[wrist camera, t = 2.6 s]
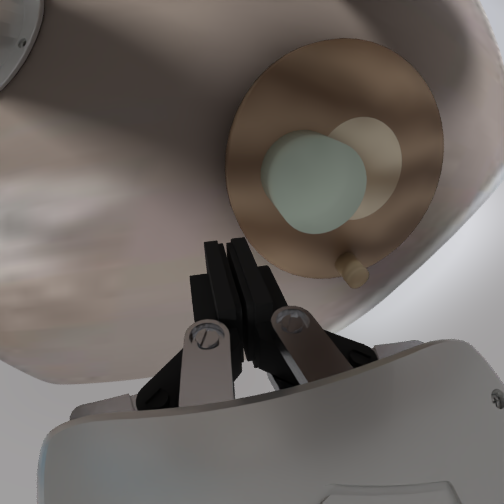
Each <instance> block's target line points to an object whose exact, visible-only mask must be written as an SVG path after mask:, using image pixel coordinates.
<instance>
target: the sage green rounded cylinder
mask: <svg viewBox="0 0 504 504" xmlns="http://www.w3.org/2000/svg"><path fill="white" fill-rule="evenodd" d="M261 183H262V187H263V190H264V192H265V194H266V195H267V197H268V198H269V199H270V201H271V202H272V203H273V204H274V206H275V207H276V208H277V210H278V211H279V212H280V213H281V215H282V216H283V217H284V219H285V220H286V221H287V222H288V223H289V224H290V225H291V226H292V227H293V228H295V229H297V230H298V231H301V232H304V233H308V234H321V233H326V232H329V231H332V230H334V229H336V228H338V227H340V226H341V225H343V224H344V223H345V222H346V221H348V220H349V219H350V218H351V217H352V216H353V214H354V213H355V212H356V210H357V209H358V207H359V206H360V204H361V202H362V200H363V197H364V194H365V190H366V183H367V177H366V170H365V166H364V164H363V161H362V159H361V158H360V156H359V155H358V153H357V152H356V151H355V150H354V149H353V148H351V147H350V146H348V145H346V144H344V143H342V142H340V141H337V140H335V139H333V138H330V137H328V136H326V135H323V134H321V133H318V132H316V131H312V130H297V131H293V132H290V133H287V134H285V135H283V136H282V137H280V138H279V139H278V140H277V141H275V142H274V143H273V144H272V146H271V147H270V148H269V150H268V151H267V153H266V155H265V157H264V159H263V162H262V166H261Z"/></svg>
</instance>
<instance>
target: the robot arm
mask: <svg viewBox="0 0 504 504" xmlns="http://www.w3.org/2000/svg"><path fill="white" fill-rule="evenodd" d="M43 13H44V0H0V91H1V90H2V89H3V88H4V87H5V86H6V85H7V84H8V83H9V82H10V81H11V79H12V78H13V77H14V76H15V75H16V73H17V72H18V70H19V69H20V67H21V66H22V65H23V63H24V62H25V60H26V58H27V56H28V54H29V53H30V51H31V49H32V47H33V45H34V42H35V40H36V38H37V36H38V32H39V29H40V26H41V23H42V18H43ZM226 247H227V256H226V253H225V249H224V246H223V243H221V244H218V242H217V241H209V242H204V249H205V259H206V268H207V274H200V275H193V276H190V285H191V295H192V304H193V312H194V321H195V323H193V324H192V325H191V326H189V328H188V329H187V330H186V332H185V336H184V345H183V349H182V350H181V351H180V352H179V353H178V354H177V355H176V356H175V357H174V358H172V359H171V360H170V361H169V362H168V363H167V364H166V365H165V366H164V367H163V368H162V369H161V370H160V371H159V372H158V373H157V374H156V375H155V376H154V377H153V378H152V379H151V380H150V381H149V382H148V383H147V384H146V385H145V386H144V387H143V388H142V389H141V390H140V391H139V392H138V394H136V395H132V396H130V395H129V394H125V395H121V396H118V397H113V398H110V399H105V400H102V401H97V402H93V403H88V404H83V405H80V406H78V407H76V408H75V409H74V410H73V411H72V413H71V416H70V421H68V422H65V423H63V424H61V425H59V426H57V427H56V428H54V429H53V430H51V431H50V432H49V434H47V436H46V438H45V439H44V441H43V444H42V447H41V450H40V455H39V461H38V469H37V504H504V384H503V382H502V381H501V380H500V378H499V377H498V375H497V374H496V373H495V371H494V370H493V368H492V367H491V366H490V365H489V364H488V362H487V361H486V360H485V358H484V357H483V356H482V355H481V354H480V353H479V352H478V351H477V350H476V349H475V348H474V347H473V346H472V345H470V344H469V343H467V342H465V341H461V340H455V339H448V340H437V341H430V342H427V343H423V342H421V341H416V340H412V341H406V342H398V343H391V344H383V345H375V346H374V348H370V347H368V346H366V345H364V344H361V343H358V342H355V341H353V340H350V339H347V338H344V337H341V336H339V335H336V334H334V333H331V332H328V331H326V330H323V329H322V327H321V326H320V325H319V324H318V322H317V321H316V320H315V318H314V317H313V316H312V315H311V314H310V313H309V312H308V311H307V310H305V309H303V308H301V307H297V306H288V305H287V303H286V301H285V298H284V296H283V294H282V292H281V290H280V288H279V286H278V284H277V282H276V280H275V278H274V276H273V274H272V272H271V270H270V268H269V266H267V265H266V266H259V267H257V264H256V262H255V260H254V257H253V255H252V253H251V250H250V248H249V246H248V244H247V241H246V239H245V237H242V238H234V239H231V242H230V243H226ZM243 348H244V351H245V355H246V358H247V361H253V364H254V368H258V367H259V369H262V370H263V371H266V372H267V375H268V378H269V380H270V382H271V384H272V386H273V387H274V389H275V391H273V392H269V393H265V394H260V395H255V396H250V397H245V398H240V399H235V389H234V381H235V380H236V378H237V377H238V376H239V375H240V373H241V372H242V362H244V354H243Z"/></svg>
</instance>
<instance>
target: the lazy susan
mask: <svg viewBox="0 0 504 504" xmlns="http://www.w3.org/2000/svg"><path fill="white" fill-rule="evenodd" d="M297 130H312V131H316V132H318V133H321V134H323V135H326V136H328V137H330V138H333V139H335V140H337V141H340V142H342V143H344V144H346V145H348V146H350V147H351V148H353V149H354V150H355V151H356V152H357V153H358V155H359V156H360V158H361V159H362V161H363V164H364V166H365V170H366V177H367V183H366V190H365V194H364V197H363V200H362V202H361V204H360V206H359V207H358V209H357V210H356V212H355V213H354V214H353V216H352V217H351V218H350V219H349V220H348V221H346V222H345V223H344V224H343V225H341V226H340V227H338V228H336V229H334V230H332V231H329V232H326V233H321V234H308V233H304V232H301V231H298V230H297V229H295V228H293V227H292V226H291V225H290V224H289V223H288V222H287V221H286V220H285V219H284V217H283V216H282V215H281V213H280V212H279V211H278V210H277V208H276V207H275V206H274V204H273V203H272V202H271V201H270V199H269V198H268V197H267V195H266V194H265V192H264V190H263V187H262V183H261V166H262V162H263V159H264V157H265V155H266V153H267V151H268V150H269V148H270V147H271V146H272V144H273V143H274V142H275V141H277V140H278V139H279V138H280V137H282V136H283V135H285V134H287V133H290V132H293V131H297ZM443 152H444V139H443V129H442V122H441V118H440V114H439V110H438V107H437V105H436V102H435V99H434V97H433V95H432V93H431V91H430V89H429V87H428V85H427V84H426V83H425V81H424V80H423V78H422V77H421V75H420V74H419V73H418V72H417V71H416V70H415V69H414V67H413V66H412V65H411V64H410V63H408V62H407V61H406V60H405V59H404V58H402V57H401V56H400V55H398V54H397V53H395V52H393V51H392V50H390V49H388V48H386V47H384V46H381V45H379V44H376V43H374V42H369V41H365V40H360V39H348V38H340V39H332V40H324V41H320V42H315V43H312V44H309V45H306V46H303V47H300V48H298V49H296V50H294V51H292V52H290V53H288V54H286V55H284V56H283V57H282V58H280V59H279V60H277V61H276V62H275V63H273V64H272V65H271V66H269V67H268V68H267V69H266V70H265V71H264V72H263V73H262V75H261V76H260V77H259V78H258V79H257V80H256V81H255V82H254V84H253V85H252V86H251V88H250V89H249V91H248V92H247V93H246V95H245V96H244V98H243V100H242V102H241V104H240V106H239V108H238V110H237V112H236V114H235V117H234V120H233V123H232V126H231V129H230V132H229V137H228V142H227V147H226V156H225V177H226V187H227V192H228V196H229V200H230V204H231V207H232V209H233V212H234V214H235V216H236V219H237V221H238V223H239V225H240V228H241V229H242V231H243V233H244V234H245V236H246V238H247V239H248V241H249V242H250V244H251V245H252V246H253V247H254V248H255V249H256V251H257V252H258V253H259V254H260V255H261V256H263V257H264V258H265V259H266V260H267V261H268V262H270V263H271V264H273V265H275V266H276V267H278V268H279V269H281V270H284V271H286V272H288V273H291V274H294V275H298V276H302V277H307V278H316V279H323V278H335V277H343V279H344V280H345V281H346V282H347V284H348V285H349V286H350V287H351V288H353V289H356V288H359V287H361V286H362V285H363V284H364V283H365V282H366V281H367V280H368V277H369V272H368V270H367V269H366V268H368V267H369V266H371V265H373V264H375V263H377V262H378V261H380V260H382V259H383V258H385V257H386V256H387V255H389V254H390V253H391V252H393V251H394V250H395V249H396V248H397V247H398V246H399V245H400V244H402V243H403V242H404V241H405V240H406V238H407V237H408V236H409V235H410V234H411V233H412V232H413V230H414V229H415V228H416V226H417V225H418V224H419V222H420V221H421V219H422V218H423V216H424V214H425V213H426V211H427V209H428V207H429V205H430V203H431V201H432V199H433V196H434V194H435V191H436V188H437V185H438V182H439V178H440V174H441V169H442V163H443Z"/></svg>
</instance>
